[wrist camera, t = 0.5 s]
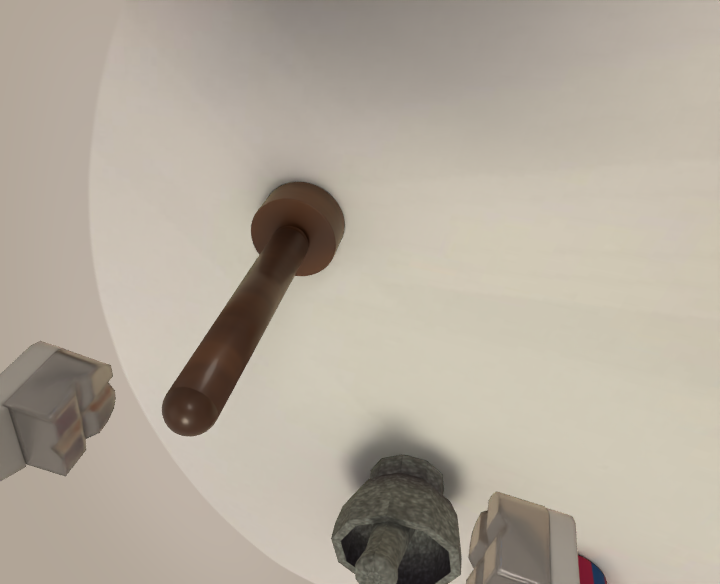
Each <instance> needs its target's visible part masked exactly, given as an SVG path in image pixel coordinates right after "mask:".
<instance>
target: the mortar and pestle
mask: <svg viewBox="0 0 720 584" xmlns="http://www.w3.org/2000/svg"><path fill="white" fill-rule="evenodd" d="M443 493H444V486H443V477H442V474H441V473H440V472H439V471H438V470H436V469H435V468H434V467H433V466H432V465H431V464H429V463H428V462H427V461H425V460H421V459H417V458H414V457H410V456H406V455H399V456H393V457H387V458H382V459H381V460H380V461H379V462H378V463H377V464H376V465H375V467H374V468H373V469H372V470H371V474H370V479H368V480H367V481H366V482H365V484H364V485H363V486H362V487H361V488H360V489H359V490H358V491H357V492H356V493H355V494H354V495H353V496H352V497H351V498H350V499H349V500H348V501H347V503H346V504H345V505H344V506H343V507H342V509H341V512H340V514H339V516H338V518H337V520H336V522H335V526H334V530H333V534H332V538H331V539H332V543H333V546H334V549H335V553H336V556H337V559H338V562H339V563H341V564H342V565H343V566H345V567H346V568H347V569H349V570H350V571H351V572H353V573H354V574H355V576H356V580H357V582H358V583H359V584H448V583H450V582H451V581H452V580H454V579H455V578H457V577H458V576H460V575H461V548H460V537H459V528H458V518H457V514H456V512H455V510H454V508H453V506H452V505H451V503H450V501H449V500H448V499H447V498H446V497H444V496H443Z"/></svg>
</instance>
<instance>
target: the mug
mask: <svg viewBox="0 0 720 584" xmlns="http://www.w3.org/2000/svg"><path fill="white" fill-rule="evenodd" d="M578 566H579V579H580V584H607V581H606V579H605V576H604V575H603V573H602V572H601V571H600V569H599V568H597V567H596V566H595V565H594V564H593V563H592V562H590V561H589V560H587V559H585V558H583V557H581V556H579V555H578Z"/></svg>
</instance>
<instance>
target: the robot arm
mask: <svg viewBox="0 0 720 584" xmlns="http://www.w3.org/2000/svg"><path fill="white" fill-rule="evenodd" d="M112 377H113V373H112V368H111V365H109V364H106V363H103V362H100V361H97V360H94V359H91V358H89V357H86V356H83V355H80V354H77V353H74V352H71V351H69V350H66V349H63V348H60V347H57V346H54V345H51V344H48V343H45V342H42V341H39V342H37V343H35V344H33V345H31V346H30V347H29V348H28V349H27V350H26V351H25V352H23V353H22V354H21V355H20V356H19V357H18V358H17V359H16V360H15V361H14V362H13V363H12V364H11V365H10V366H8V367H7V368H6V369H5V370H4V371H3V372H2V373H1V374H0V481H2V480H3V479H5V478H7V477H9V476H11V475H12V474H14V473H16V472H18V471H19V470H21V469H23V468H25V467H26V464H27V465H31V466H34V467H37V468H40V469H43V470H47V471H50V472H53V473H56V474H59V475H63V476H66V475H67V474H68V473H69V471H70V470H71V468H73V466H74V465H75V464H76V462H77V461H78V460H79V459H80V457H81V456H82V455H83V453H84V452H85V451H86V439H87V438H89V437H91V436H93V435H95V434H97V433H100V431H101V430H102V429H103V427H104V426H105V425H106V423H107V422H108V420H109V418H110V416H111V413H112V411H113V409H114V405H115V399H116V397H115V390H114V389H113V388H112V386H111V385H110V384H109V383H108V382H109V380H110V379H111V378H112ZM469 560H470V562H471V564H472V566H473V568H474V570H473V571H472V573H471V574H470V576H469V577H468V579H467V580H466V584H580V579H579V566H578V552H577V538H576V524H575V521H574V519H573V517H572V516H570V515H568V514H564V513H561V512H558V511H555V510H551V509H548V508H545V506H542V505H538V504H535V503H532V502H529V501H526V500H522V499H519V498H516V497H513V496H510V495H506V494H503V493H500V492H495V493H493V495H492V496H491V498H490V499H489V503H488V510H487V511H484V512H481V514H480V516H479V517H478V519H477V521H476V523H475V526H474V529H473V532H472V536H471V542H470V549H469Z"/></svg>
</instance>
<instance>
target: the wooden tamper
mask: <svg viewBox="0 0 720 584" xmlns="http://www.w3.org/2000/svg"><path fill="white" fill-rule="evenodd" d="M344 228H345V223H344V217H343V213H342V211H341V208H340V207H339V205H338V203H337V202H336V200H335V199H334V198H333V197H332V196H331V195H330V194H329V193H328V192H326V191H325V190H323V189H322V188H320V187H318V186H316V185H313V184H310V183H305V182H291V183H287V184H284V185H281V186H280V187H278V188H276V189H275V190H274V191H273V192H272V193H271V194H270V195H269V197H268V198H267V199H266V201H265V202H264V203H263V204H262V206H261V207H260V208H259V210H258V211H257V212H256V214H255V216H254V218H253V220H252V225H251V236H252V241H253V244H254V246H255V248H256V250H257V252H258V253H259V257H258V258H257V260H256V261H255V263H254V264H253V266H252V267H251V269H250V270H249V272H248V273H247V274H246V276H245V277H244V279H243V280H242V282H241V283H240V285H239V286H238V288H237V289H236V291H235V292H234V294H233V295H232V297H231V298H230V300H229V301H228V303H227V304H226V306H225V307H224V309H223V310H222V312H221V313H220V315H219V316H218V318H217V319H216V321H215V322H214V324H213V325H212V327H211V328H210V330H209V331H208V333H207V334H206V336H205V337H204V339H203V340H202V342H201V343H200V345H199V346H198V348H197V349H196V351H195V352H194V354H193V355H192V357H191V358H190V360H189V361H188V363H187V364H186V366H185V367H184V369H183V370H182V372H181V373H180V375H179V376H178V378H177V379H176V381H175V382H174V384H173V385H172V387H171V388H170V390H169V391H168V393H167V394H166V396H165V398H164V400H163V405H162V415H163V418H164V421H165V423H166V424H167V426H168V427H169V428H170V429H171V430H172V431H173V432H175V433H177V434H179V435H182V436H196V435H200V434H202V433H204V432H206V431H207V430H209V429H210V428H211V427H212V426H213V425H214V423H215V422H216V420H217V419H218V417H219V415H220V413H221V411H222V409H223V407H224V406H225V404H226V402H227V400H228V398H229V396H230V394H231V393H232V391H233V389H234V387H235V385H236V383H237V381H238V380H239V378H240V376H241V374H242V372H243V370H244V368H245V367H246V365H247V363H248V361H249V359H250V357H251V356H252V354H253V352H254V350H255V348H256V346H257V344H258V343H259V341H260V339H261V337H262V335H263V333H264V331H265V330H266V328H267V326H268V324H269V322H270V320H271V318H272V317H273V315H274V313H275V311H276V309H277V307H278V305H279V304H280V302H281V300H282V298H283V296H284V294H285V292H286V291H287V289H288V287H289V285H290V283H291V281H292V280H293V278H294V276H308V275H312V274H315V273H318V272H320V271H321V270H323V269H324V268H326V267H327V266H328V265H329V263H330V262H331V261H332V259H333V257H334V255H335V252H336V250H337V248H338V246H339V244H340V242H341V239H342V237H343V234H344Z"/></svg>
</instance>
